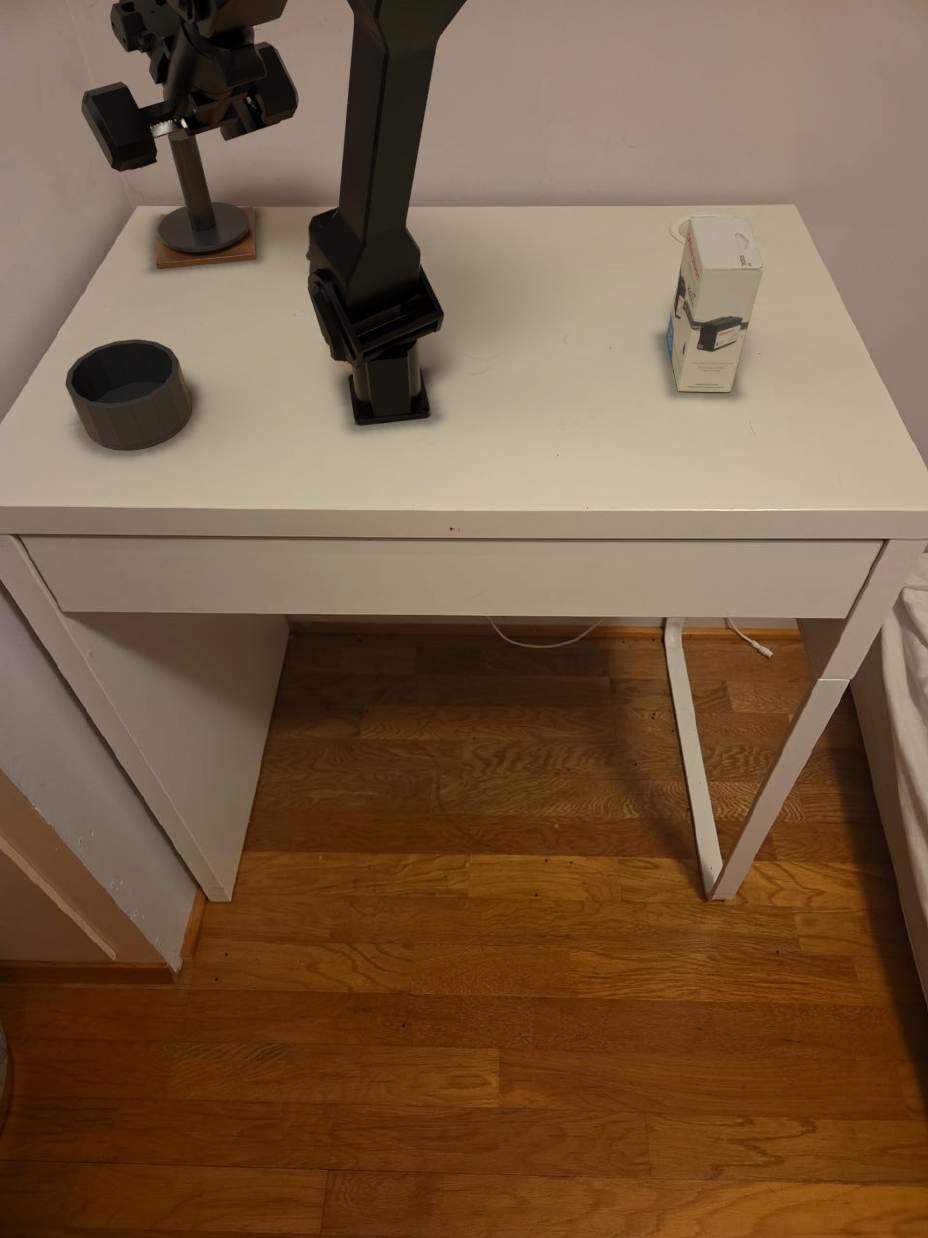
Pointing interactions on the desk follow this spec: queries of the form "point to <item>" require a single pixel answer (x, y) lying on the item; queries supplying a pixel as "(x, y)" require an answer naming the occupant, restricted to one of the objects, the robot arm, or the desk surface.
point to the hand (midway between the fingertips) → (182, 148)
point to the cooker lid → (198, 206)
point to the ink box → (713, 302)
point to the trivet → (233, 252)
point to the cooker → (129, 394)
